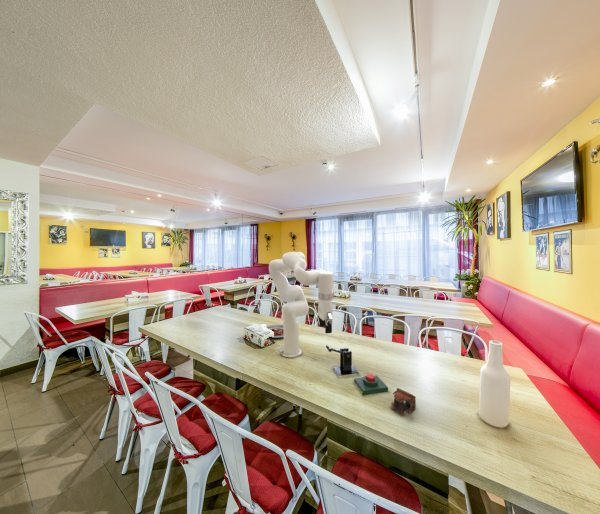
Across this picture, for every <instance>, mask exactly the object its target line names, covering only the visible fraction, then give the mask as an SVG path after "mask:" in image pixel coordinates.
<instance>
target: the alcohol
mask: <svg viewBox="0 0 600 514" xmlns="http://www.w3.org/2000/svg"><path fill="white" fill-rule="evenodd" d="M503 345H504V343H502V341H499V340H494V339H490V340H489V341H488V354H487V359H486V360H487V361H486V363H485V364H484V365H482V366H481V368H480V369H479V392H478V393H479V394H478V415H479V417H480V418H481V419H482V421H484V423H486V424H488V425H490V426H492V427H496V428H506V427H507V426H508V425H509V423H510V420H509V419H510V400H511V399H510V398H511V378H510V374H509V372H508V370H507V369H506V368H505V366H504V356H503V349H504V347H503Z"/></svg>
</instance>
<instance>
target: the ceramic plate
mask: <svg viewBox="0 0 600 514" xmlns="http://www.w3.org/2000/svg"><path fill="white" fill-rule="evenodd" d="M266 327H267V328H268V329H270V330H272V331H273V332H274V337H273V338H284V329H283V324H273V325H267V326H266Z"/></svg>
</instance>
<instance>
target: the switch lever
mask: <svg viewBox="0 0 600 514" xmlns="http://www.w3.org/2000/svg"><path fill="white" fill-rule="evenodd" d="M325 348H326V349H327V351H328V352H329V353H332V352H335V353H339V354H340V353H341V354H342V355H343V352H346V350H343V351H340V349H337V348H333V347H330V345H328V344H326V345H325Z"/></svg>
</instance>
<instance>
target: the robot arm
mask: <svg viewBox="0 0 600 514" xmlns="http://www.w3.org/2000/svg"><path fill="white" fill-rule="evenodd" d="M307 266H308V265H307V262H306V255H305V254H304V253H303V252H302V251H289V252H288V251H287V252H285V253H284V254H283V255H282V257H281V258H277V259H273V260H271V261H270V262H269V263H268V273H269V275H270V277H271V279H272V281H273V283H274V286H275V288H276V291H277V294H278V297H279V299H280V301H281V302H284V304H282V306H281V315H282V323H283V324H282V325H283V329H284V337H283V344H282V346H280V347H279V346H277V347H275V351H277V352H278V353H281V356H283V357H285V358H288V359H289V358H290V359H291V358H293V359H294V358H297V357H299V356H301V355H302V353H303V350H302V349H301V348H300V324H299V321H298V320H297V318H298V317H302V316H307V314H308V313H309V310H310V307H309V303H308V301H307V298H306V295H305V292H304V290H303V288H302V287H301V286H300V285H299V284H290V283H289V281H288V278H287V277H286V275H284V274H283V273H286V272H288V273H289V272H293V274H294V278H295V279H296V281H297V282H299V283H300V284H302V286H303V285H304V286H306V287H307V286H308V287H309V286H314V285H316V286H317V285H318V286H317V299H318V304H317V307H318V308H317V316H318V317H319V327H324V330H325V331H324V332H325V334H332V333H333V300H334V273H333V272H332V271H325V270H323V269H313V270H306V269H307ZM285 302H286V303H285Z"/></svg>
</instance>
